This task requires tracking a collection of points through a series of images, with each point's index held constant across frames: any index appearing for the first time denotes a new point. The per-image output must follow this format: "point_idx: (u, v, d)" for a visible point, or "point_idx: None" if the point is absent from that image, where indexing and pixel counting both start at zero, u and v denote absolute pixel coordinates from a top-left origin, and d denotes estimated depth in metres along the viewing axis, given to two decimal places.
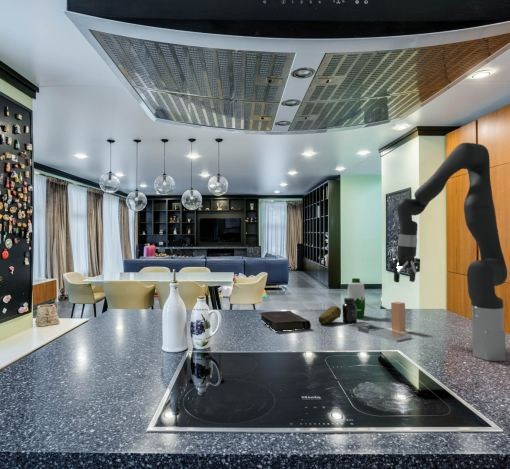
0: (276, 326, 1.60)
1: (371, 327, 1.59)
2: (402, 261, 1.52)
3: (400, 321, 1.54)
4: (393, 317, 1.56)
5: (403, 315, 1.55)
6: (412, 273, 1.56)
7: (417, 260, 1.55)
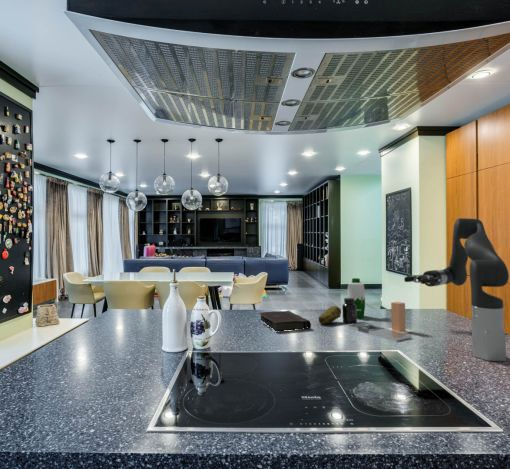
0: (276, 326, 1.60)
1: (371, 327, 1.59)
2: None
3: (400, 321, 1.54)
4: (393, 317, 1.56)
5: (403, 315, 1.55)
6: None
7: None
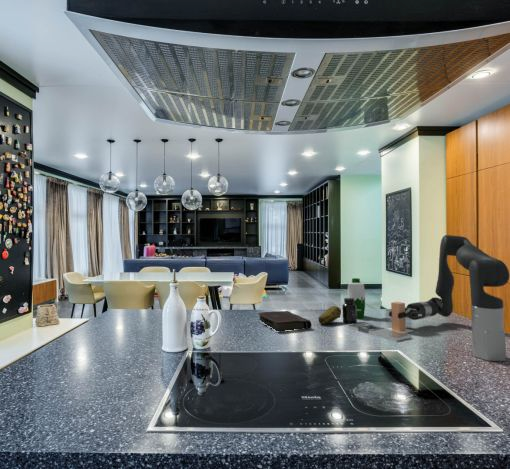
0: (278, 326, 1.59)
1: (371, 327, 1.59)
2: None
3: (400, 321, 1.54)
4: (393, 317, 1.56)
5: None
6: None
7: None
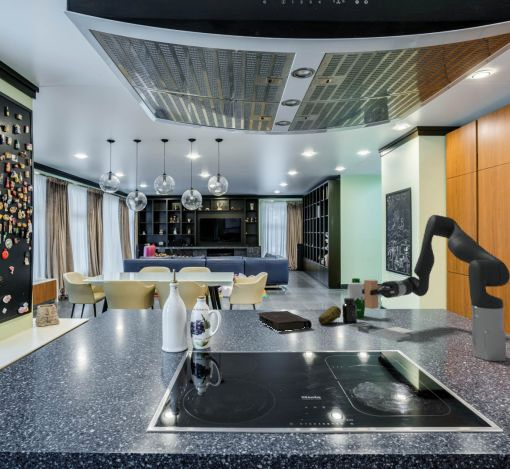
0: (278, 326, 1.59)
1: (371, 327, 1.59)
2: None
3: (372, 298, 1.54)
4: (366, 294, 1.56)
5: None
6: None
7: None
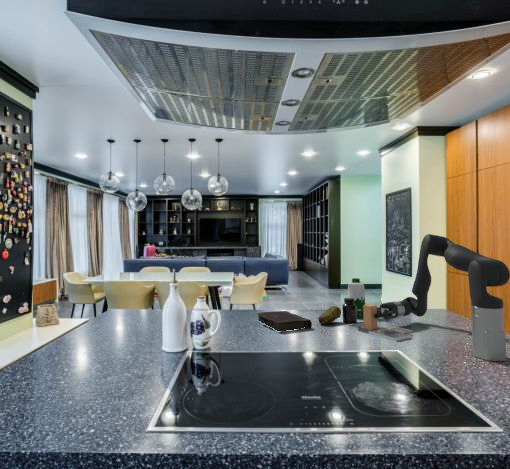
0: (279, 326, 1.59)
1: None
2: None
3: (371, 324, 1.53)
4: (365, 319, 1.56)
5: None
6: None
7: None
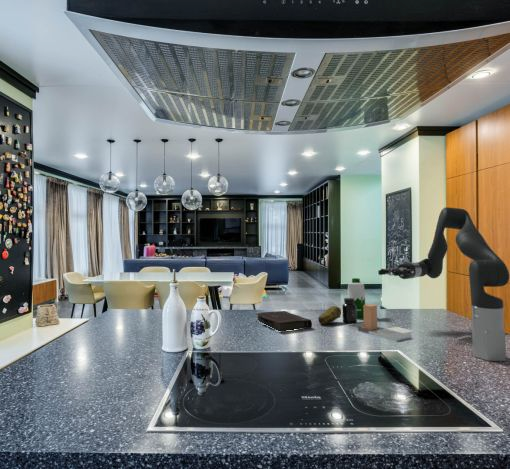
0: (280, 326, 1.59)
1: None
2: None
3: (372, 324, 1.53)
4: (365, 319, 1.56)
5: (375, 317, 1.54)
6: None
7: None
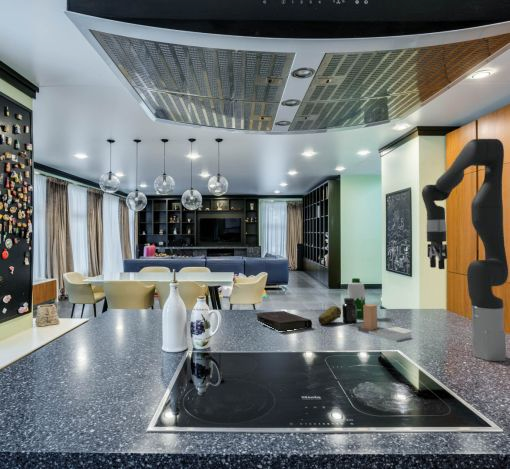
0: (280, 326, 1.59)
1: None
2: None
3: (372, 324, 1.53)
4: (365, 319, 1.56)
5: (375, 317, 1.54)
6: None
7: None
